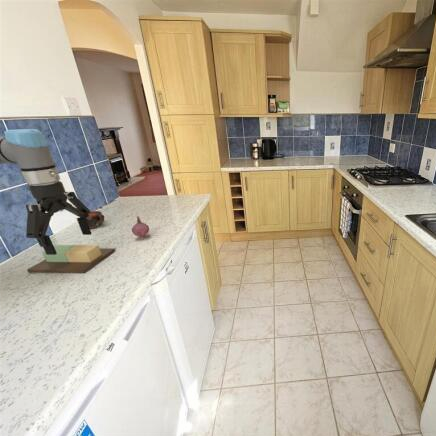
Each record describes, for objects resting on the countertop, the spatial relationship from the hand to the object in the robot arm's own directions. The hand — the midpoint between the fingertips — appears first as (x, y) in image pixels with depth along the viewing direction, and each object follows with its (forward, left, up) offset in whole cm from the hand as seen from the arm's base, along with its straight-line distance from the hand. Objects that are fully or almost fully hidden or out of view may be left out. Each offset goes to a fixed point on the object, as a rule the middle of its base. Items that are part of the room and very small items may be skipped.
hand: (71, 243), depth 83 cm
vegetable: (+11, +19, -8) cm, 23 cm away
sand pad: (+2, +1, -7) cm, 7 cm away
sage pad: (-6, +1, -7) cm, 9 cm away
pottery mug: (-20, +31, -8) cm, 38 cm away
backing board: (-3, +1, -8) cm, 8 cm away
